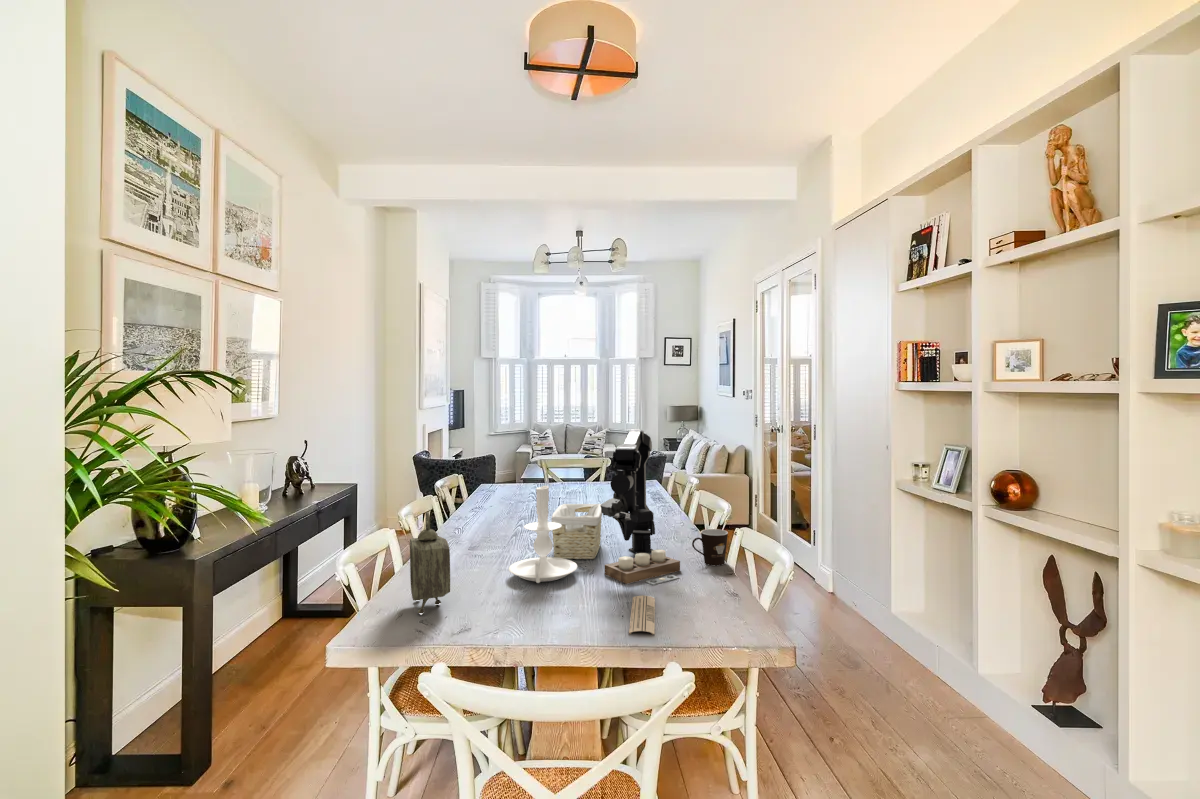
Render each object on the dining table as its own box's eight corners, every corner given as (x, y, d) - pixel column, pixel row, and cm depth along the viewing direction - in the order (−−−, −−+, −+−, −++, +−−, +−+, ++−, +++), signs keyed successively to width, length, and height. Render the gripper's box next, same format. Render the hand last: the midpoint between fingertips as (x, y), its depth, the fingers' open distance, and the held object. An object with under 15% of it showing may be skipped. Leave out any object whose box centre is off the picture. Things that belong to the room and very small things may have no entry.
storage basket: (560, 542, 224) (560, 502, 223) (604, 542, 222) (603, 502, 222) (550, 561, 200) (549, 516, 199) (599, 561, 199) (598, 517, 198)
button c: (648, 561, 190) (648, 551, 190) (659, 559, 193) (659, 548, 193) (657, 564, 187) (657, 554, 187) (668, 562, 189) (668, 551, 189)
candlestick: (499, 593, 168) (498, 493, 168) (515, 566, 193) (514, 479, 193) (573, 594, 168) (572, 493, 167) (579, 567, 192) (578, 479, 192)
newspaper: (632, 601, 163) (632, 595, 163) (658, 602, 163) (658, 595, 163) (628, 638, 140) (628, 630, 140) (659, 638, 139) (659, 631, 139)
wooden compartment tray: (604, 574, 184) (604, 564, 184) (656, 562, 197) (656, 553, 197) (626, 584, 176) (626, 573, 175) (680, 570, 188) (680, 561, 188)
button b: (632, 565, 187) (632, 554, 186) (643, 562, 189) (643, 552, 189) (641, 568, 183) (641, 557, 183) (652, 565, 186) (652, 555, 185)
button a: (615, 569, 183) (615, 558, 183) (627, 566, 185) (627, 555, 185) (624, 572, 179) (624, 561, 179) (636, 569, 182) (636, 558, 182)
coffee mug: (726, 559, 200) (726, 529, 199) (729, 567, 191) (729, 535, 191) (690, 558, 201) (690, 528, 201) (692, 566, 192) (692, 535, 192)
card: (644, 582, 177) (644, 580, 177) (671, 575, 183) (671, 574, 183) (652, 585, 174) (652, 583, 174) (679, 578, 180) (679, 577, 180)
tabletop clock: (410, 600, 164) (409, 508, 163) (444, 595, 167) (443, 505, 166) (414, 619, 150) (412, 519, 150) (451, 614, 153) (449, 516, 153)
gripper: (586, 487, 185) (587, 538, 185) (624, 495, 170) (624, 551, 170) (615, 483, 191) (616, 533, 191) (654, 491, 176) (654, 545, 176)
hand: (626, 540), depth 182 cm, fingers closed
